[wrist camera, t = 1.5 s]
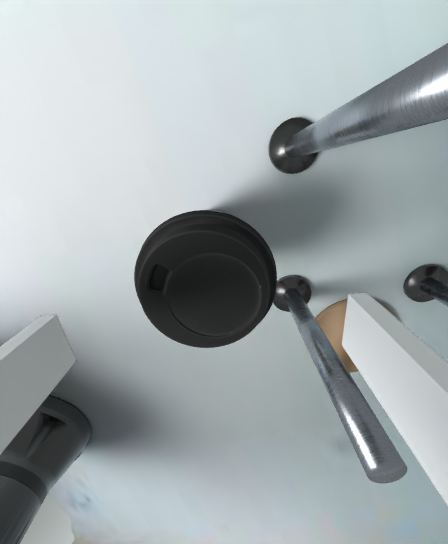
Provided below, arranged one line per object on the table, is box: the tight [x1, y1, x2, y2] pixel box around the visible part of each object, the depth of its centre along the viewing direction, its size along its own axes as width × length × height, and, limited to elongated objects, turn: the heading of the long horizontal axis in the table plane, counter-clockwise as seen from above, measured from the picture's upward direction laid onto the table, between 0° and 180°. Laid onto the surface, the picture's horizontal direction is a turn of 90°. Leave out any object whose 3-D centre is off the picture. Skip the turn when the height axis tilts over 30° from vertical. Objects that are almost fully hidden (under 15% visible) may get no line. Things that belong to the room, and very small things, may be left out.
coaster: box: [315, 299, 395, 372], centre depth 33 cm, size 12×12×1 cm
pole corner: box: [273, 275, 407, 483], centre depth 21 cm, size 5×5×20 cm
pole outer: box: [269, 43, 448, 174], centre depth 15 cm, size 5×5×20 cm
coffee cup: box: [134, 210, 277, 348], centre depth 21 cm, size 9×9×15 cm
